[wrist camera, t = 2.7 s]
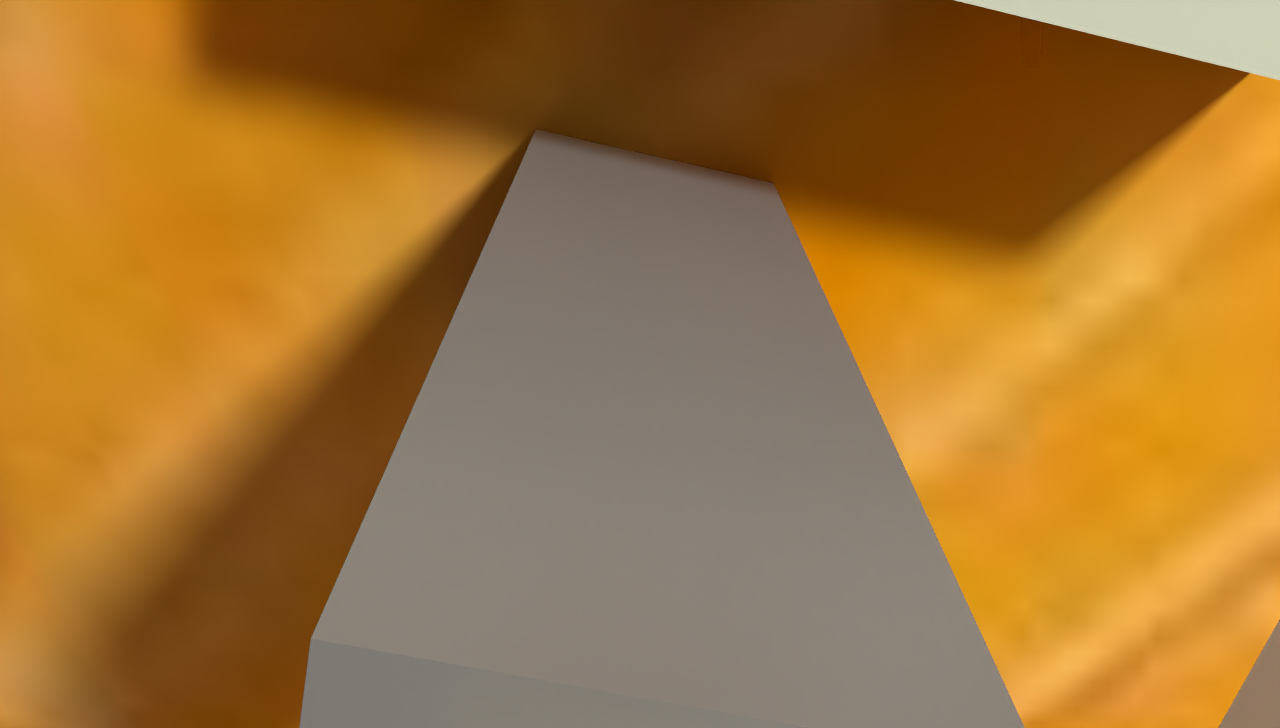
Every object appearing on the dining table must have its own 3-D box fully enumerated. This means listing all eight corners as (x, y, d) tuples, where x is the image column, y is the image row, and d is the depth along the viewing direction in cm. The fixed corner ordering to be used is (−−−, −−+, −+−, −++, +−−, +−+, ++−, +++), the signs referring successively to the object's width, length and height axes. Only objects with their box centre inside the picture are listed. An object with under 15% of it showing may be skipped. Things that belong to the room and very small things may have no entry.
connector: (494, 350, 19) (190, 1301, 6) (536, 129, 17) (245, 786, 5) (713, 395, 19) (857, 1382, 7) (773, 183, 18) (1119, 932, 5)
